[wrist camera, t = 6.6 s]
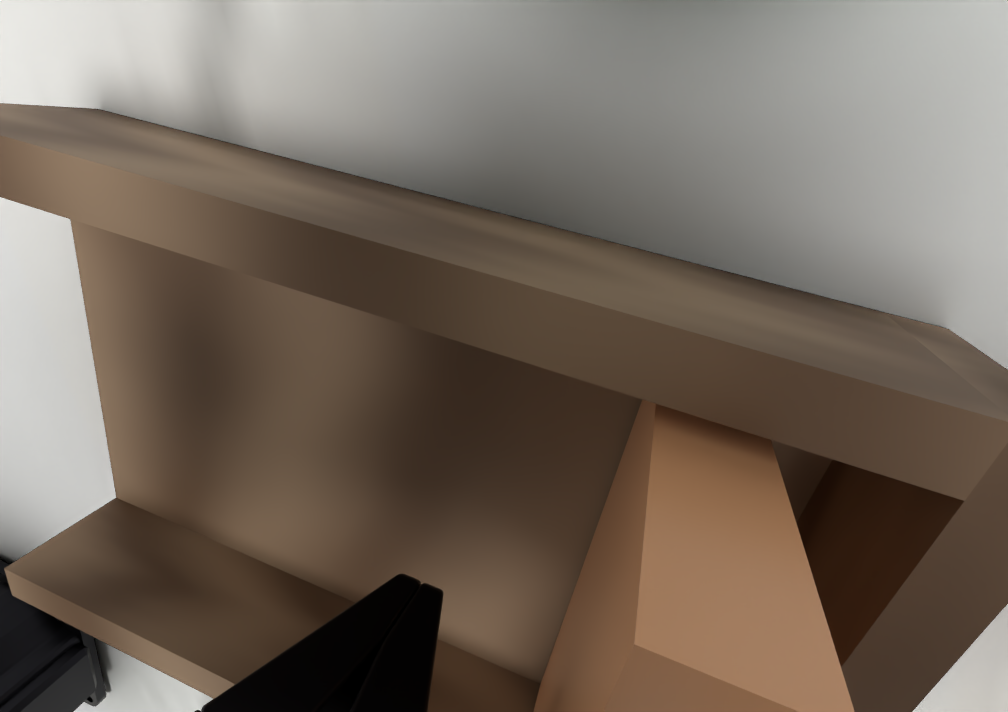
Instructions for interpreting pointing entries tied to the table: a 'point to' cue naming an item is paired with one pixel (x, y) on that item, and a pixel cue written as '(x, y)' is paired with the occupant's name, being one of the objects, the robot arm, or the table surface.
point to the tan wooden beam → (694, 586)
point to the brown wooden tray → (466, 418)
